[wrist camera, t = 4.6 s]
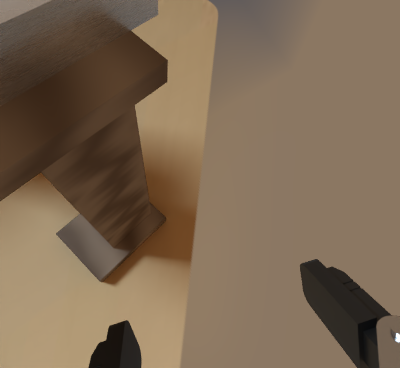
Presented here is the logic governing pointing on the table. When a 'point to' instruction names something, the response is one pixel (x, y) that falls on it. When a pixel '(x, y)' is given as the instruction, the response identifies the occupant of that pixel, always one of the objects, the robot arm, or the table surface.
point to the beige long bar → (59, 36)
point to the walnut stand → (89, 148)
